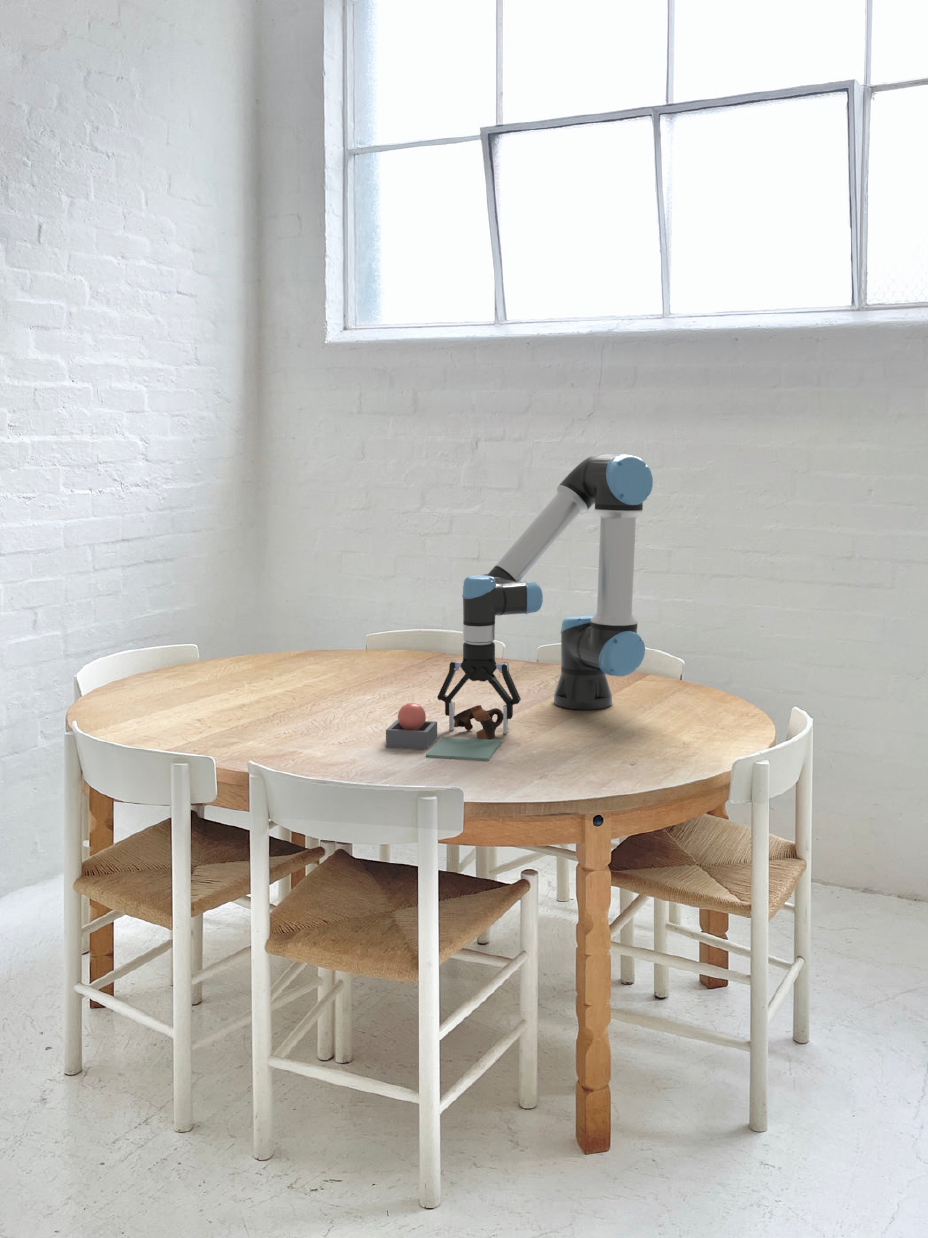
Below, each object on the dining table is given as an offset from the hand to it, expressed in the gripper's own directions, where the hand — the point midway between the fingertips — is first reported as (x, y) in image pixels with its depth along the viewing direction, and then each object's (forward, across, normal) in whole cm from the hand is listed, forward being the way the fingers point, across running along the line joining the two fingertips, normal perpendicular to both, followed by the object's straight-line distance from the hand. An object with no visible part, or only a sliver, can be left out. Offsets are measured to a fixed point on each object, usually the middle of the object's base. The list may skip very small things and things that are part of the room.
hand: (478, 730), depth 273 cm
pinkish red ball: (-3, +13, +13) cm, 19 cm away
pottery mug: (0, -1, +3) cm, 3 cm away
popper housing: (0, +13, +13) cm, 18 cm away
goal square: (0, 0, +16) cm, 16 cm away
